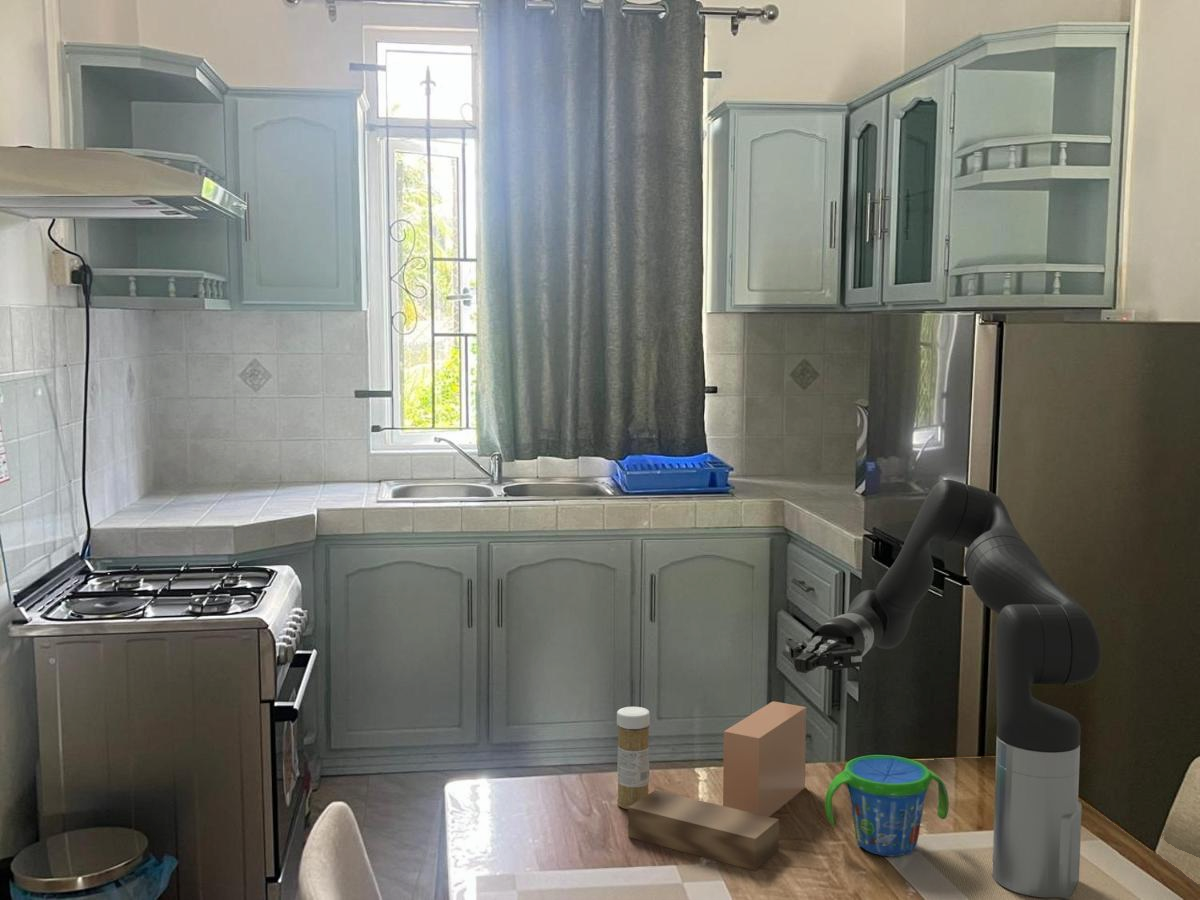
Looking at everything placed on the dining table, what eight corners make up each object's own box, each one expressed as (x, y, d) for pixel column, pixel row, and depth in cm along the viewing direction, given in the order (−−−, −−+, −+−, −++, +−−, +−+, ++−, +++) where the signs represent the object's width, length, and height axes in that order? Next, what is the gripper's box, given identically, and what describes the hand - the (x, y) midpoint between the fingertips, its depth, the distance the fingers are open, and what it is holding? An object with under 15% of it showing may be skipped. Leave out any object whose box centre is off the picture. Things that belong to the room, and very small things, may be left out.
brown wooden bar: (778, 849, 145) (779, 819, 144) (755, 870, 139) (755, 838, 139) (655, 818, 154) (655, 790, 154) (628, 837, 149) (628, 807, 148)
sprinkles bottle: (634, 796, 162) (635, 703, 161) (656, 805, 159) (656, 711, 158) (609, 804, 160) (610, 709, 158) (631, 814, 156) (631, 717, 155)
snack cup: (832, 864, 141) (833, 783, 140) (817, 828, 151) (818, 753, 150) (959, 864, 141) (961, 784, 140) (935, 829, 151) (937, 754, 150)
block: (805, 788, 166) (806, 707, 165) (758, 826, 152) (759, 738, 151) (771, 780, 168) (772, 701, 168) (722, 817, 155) (723, 731, 154)
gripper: (805, 611, 187) (760, 634, 172) (884, 622, 180) (843, 647, 165) (804, 656, 188) (759, 683, 173) (882, 669, 181) (842, 698, 166)
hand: (800, 666), depth 169 cm, fingers closed
